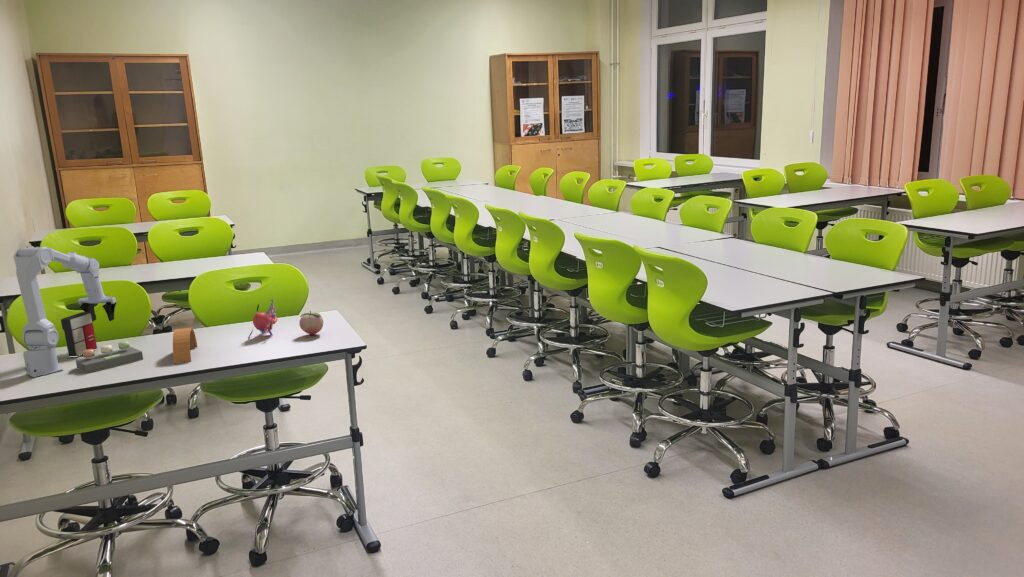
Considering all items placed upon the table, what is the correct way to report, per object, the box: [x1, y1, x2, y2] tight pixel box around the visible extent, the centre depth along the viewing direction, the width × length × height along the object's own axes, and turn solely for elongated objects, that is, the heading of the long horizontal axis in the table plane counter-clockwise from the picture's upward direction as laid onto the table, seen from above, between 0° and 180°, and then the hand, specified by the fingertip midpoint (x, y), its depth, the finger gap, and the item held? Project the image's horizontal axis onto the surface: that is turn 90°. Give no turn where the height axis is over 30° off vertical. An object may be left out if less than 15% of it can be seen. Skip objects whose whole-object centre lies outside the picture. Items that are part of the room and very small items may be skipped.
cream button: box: [100, 344, 114, 354], centre depth 266 cm, size 4×4×2 cm
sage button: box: [117, 340, 131, 350], centre depth 270 cm, size 4×4×2 cm
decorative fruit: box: [299, 310, 324, 336], centre depth 290 cm, size 9×8×10 cm
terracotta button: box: [82, 349, 96, 358], centre depth 262 cm, size 4×4×2 cm
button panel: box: [75, 346, 144, 374], centre depth 266 cm, size 19×10×3 cm, turn 137°
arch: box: [172, 327, 198, 365], centre depth 271 cm, size 6×20×10 cm, turn 16°
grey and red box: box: [60, 311, 98, 357], centre depth 279 cm, size 11×4×15 cm, turn 168°
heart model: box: [248, 298, 279, 339], centre depth 293 cm, size 17×10×20 cm
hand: (102, 320), depth 288 cm, fingers open, 7 cm apart
